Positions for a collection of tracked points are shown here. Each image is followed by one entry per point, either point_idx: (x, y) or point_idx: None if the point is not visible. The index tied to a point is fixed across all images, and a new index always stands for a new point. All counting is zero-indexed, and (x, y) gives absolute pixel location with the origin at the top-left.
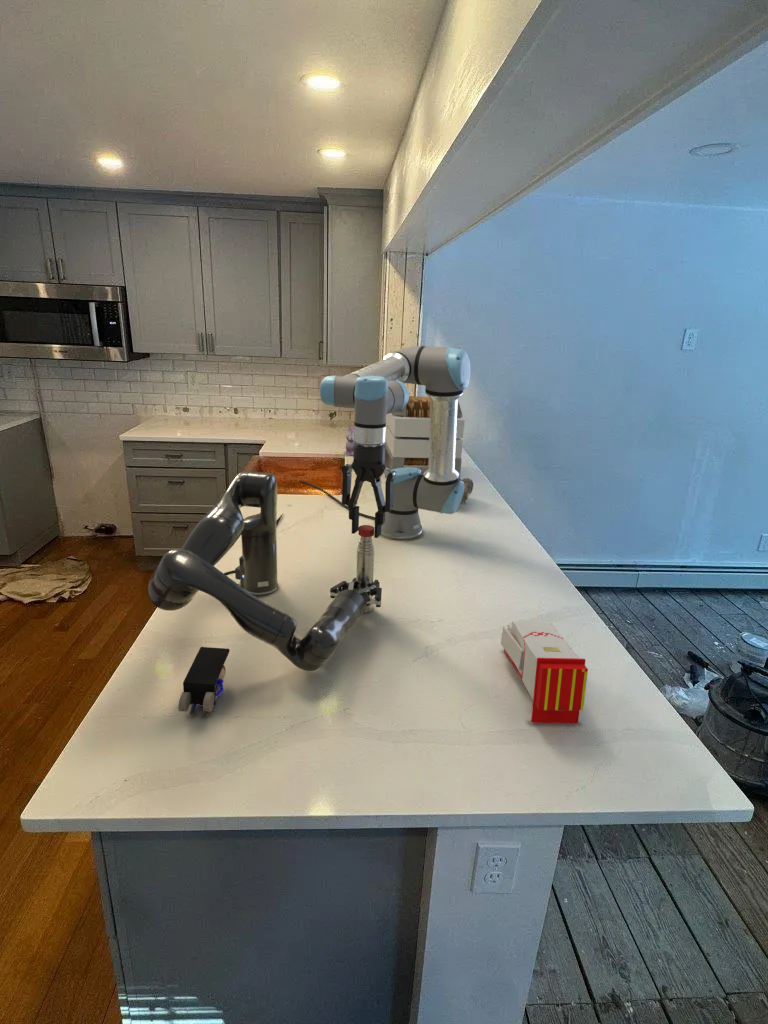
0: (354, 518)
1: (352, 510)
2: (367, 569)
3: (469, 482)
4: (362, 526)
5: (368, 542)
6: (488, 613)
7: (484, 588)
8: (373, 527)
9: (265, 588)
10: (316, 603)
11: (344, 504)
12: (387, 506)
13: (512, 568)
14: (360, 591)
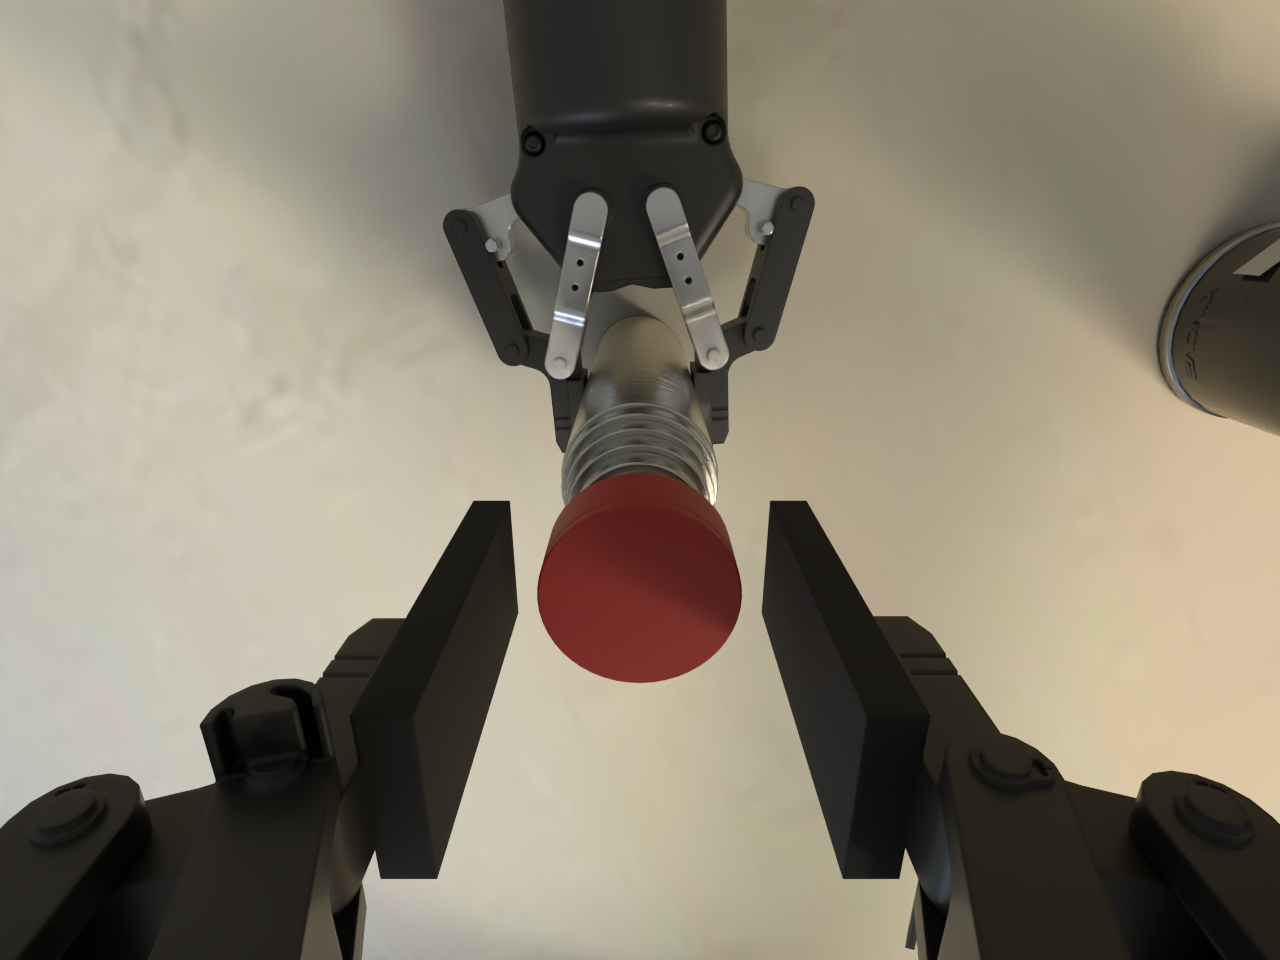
0: (821, 606)
1: (910, 696)
2: (598, 385)
3: None
4: (702, 613)
5: (590, 480)
6: (97, 567)
7: None
8: (563, 641)
9: (1236, 261)
10: (893, 300)
11: (1155, 774)
12: (7, 893)
13: None
14: (589, 216)
